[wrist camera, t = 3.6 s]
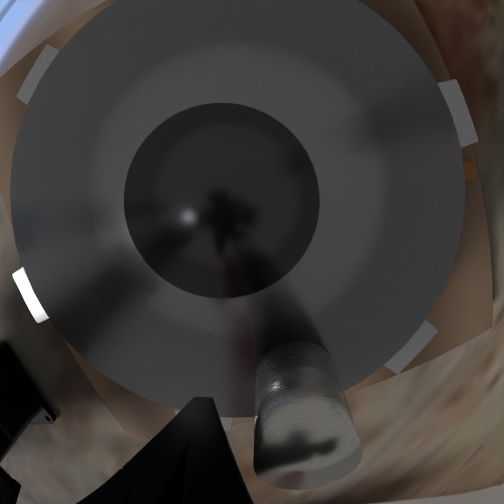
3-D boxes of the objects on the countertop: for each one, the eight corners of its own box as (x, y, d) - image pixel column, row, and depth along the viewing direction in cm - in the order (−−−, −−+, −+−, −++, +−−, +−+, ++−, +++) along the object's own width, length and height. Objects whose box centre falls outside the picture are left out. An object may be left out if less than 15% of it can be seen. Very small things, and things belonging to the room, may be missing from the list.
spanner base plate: (138, 421, 16) (130, 440, 14) (0, 98, 11) (-20, 95, 10) (477, 315, 14) (493, 328, 12) (359, -53, 9) (367, -70, 7)
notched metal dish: (145, 407, 13) (100, 513, 7) (8, 127, 10) (-105, 126, 4) (467, 288, 11) (564, 363, 5) (342, -36, 8) (388, -138, 2)
